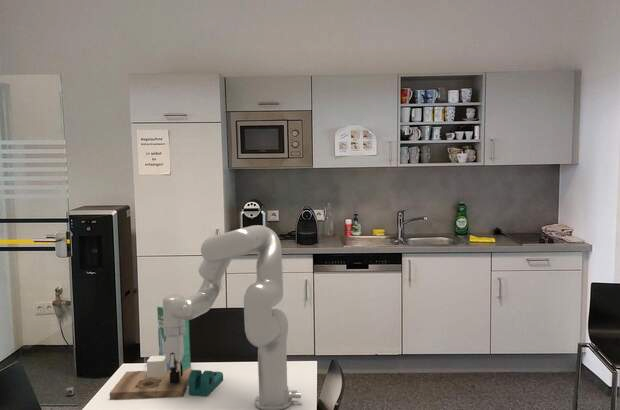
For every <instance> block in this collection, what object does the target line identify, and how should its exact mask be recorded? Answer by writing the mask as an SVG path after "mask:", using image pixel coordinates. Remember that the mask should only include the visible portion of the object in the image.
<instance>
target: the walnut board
mask: <svg viewBox="0 0 620 410" xmlns="http://www.w3.org/2000/svg"><path fill="white" fill-rule="evenodd" d="M192 370H194V369H191V368H189V369H184V370H183V376H182V377H181V383H179V384H173V383H170V370H167V372H166V374H165V376H164V377H150V378H147V370H138V371H137V370H136V371H125V373H124V374H123V376H122V377H121V378H120V379H119V381H117V383H116V384H115V385H114V387H113V388H112V389H111V390H110V392H109V400H110V401H113V400H114V401H115V400H118V401H119V400H139V399H140V400H142V399H143V400H144V399H165V398H167V399H168V398H171V399H172V398H184V396H185V394H186V391H187V389H188V388H189V376H190V373H191V371H192Z"/></svg>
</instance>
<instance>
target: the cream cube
mask: <svg viewBox="0 0 620 410" xmlns="http://www.w3.org/2000/svg"><path fill="white" fill-rule="evenodd" d="M146 371H147V378H150V377H164V376H165V374H166V372H167V364H166V363H165V356H159V355H151V356H150V357H149V358H148V359H147V360H146Z"/></svg>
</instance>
